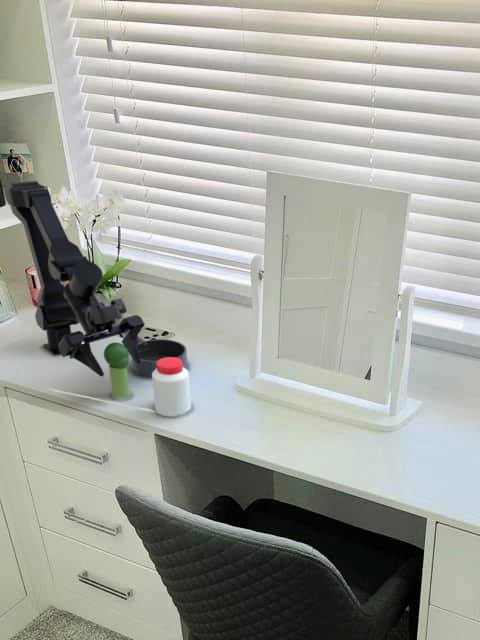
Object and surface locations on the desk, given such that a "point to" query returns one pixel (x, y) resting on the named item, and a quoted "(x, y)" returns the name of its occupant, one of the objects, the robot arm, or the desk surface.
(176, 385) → the pill bottle
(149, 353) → the pan
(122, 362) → the broccoli
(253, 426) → the desk surface
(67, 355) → the robot arm
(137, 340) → the pan handle
